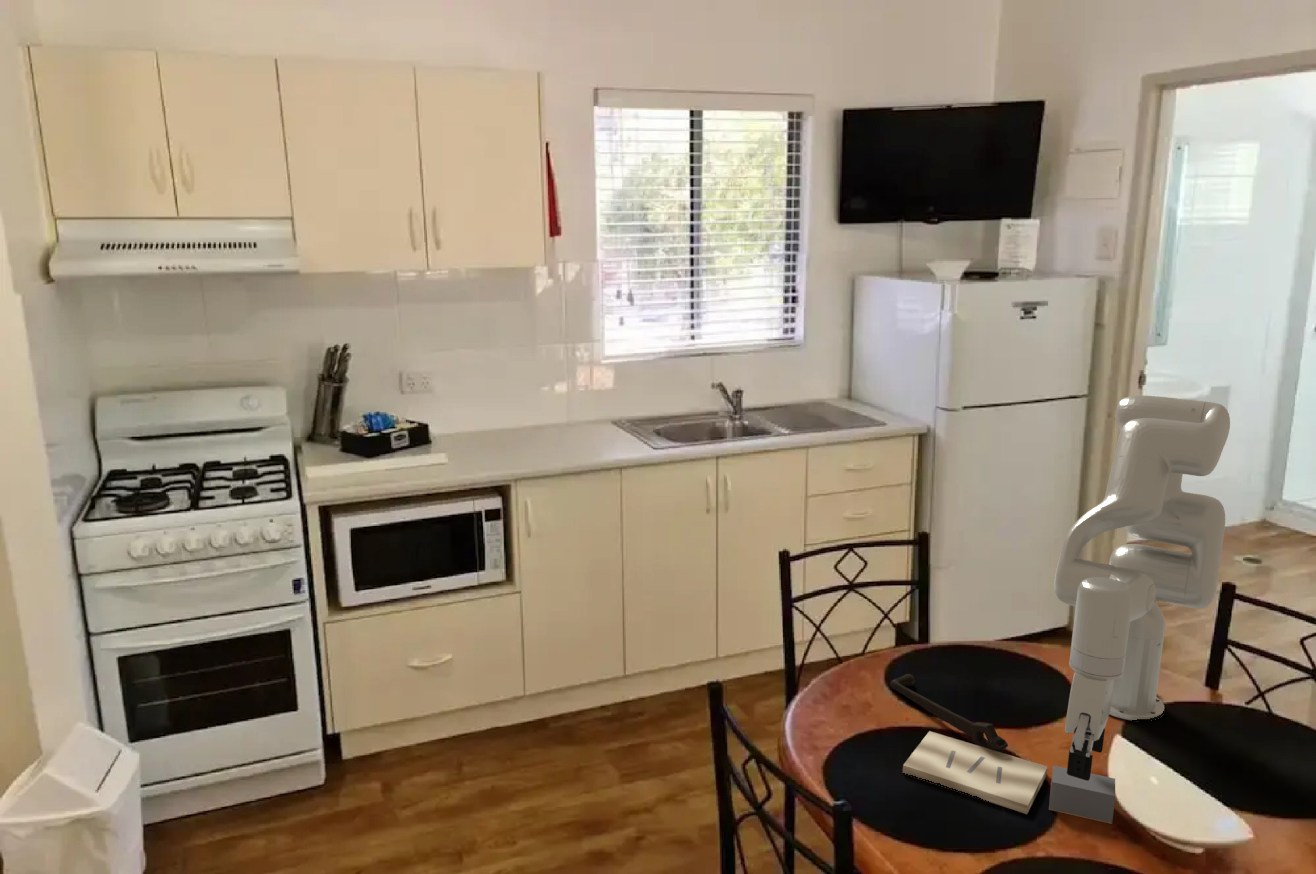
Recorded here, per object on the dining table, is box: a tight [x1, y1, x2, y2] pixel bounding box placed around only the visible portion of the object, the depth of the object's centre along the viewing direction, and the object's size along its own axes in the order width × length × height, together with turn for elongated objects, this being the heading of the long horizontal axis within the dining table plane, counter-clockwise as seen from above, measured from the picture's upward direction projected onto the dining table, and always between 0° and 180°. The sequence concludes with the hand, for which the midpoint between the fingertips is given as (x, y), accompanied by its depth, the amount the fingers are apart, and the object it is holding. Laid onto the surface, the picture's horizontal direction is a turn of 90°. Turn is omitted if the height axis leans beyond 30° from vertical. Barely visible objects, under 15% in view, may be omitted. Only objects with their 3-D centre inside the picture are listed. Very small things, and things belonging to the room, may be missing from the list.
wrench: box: [890, 673, 1009, 751], centre depth 178 cm, size 5×5×30 cm
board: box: [902, 730, 1049, 815], centre depth 161 cm, size 13×20×2 cm, turn 56°
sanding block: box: [1048, 765, 1117, 825], centre depth 152 cm, size 5×9×5 cm, turn 66°
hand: (1084, 763), depth 150 cm, fingers open, 9 cm apart
